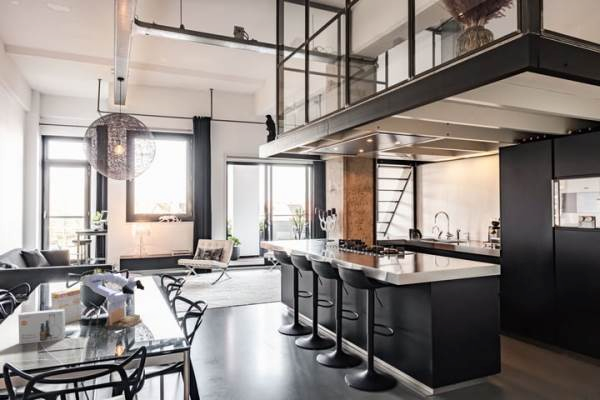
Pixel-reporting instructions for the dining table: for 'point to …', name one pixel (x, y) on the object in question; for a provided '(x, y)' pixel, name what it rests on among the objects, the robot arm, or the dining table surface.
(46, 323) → the skincare box
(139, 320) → the plywood offcut stack
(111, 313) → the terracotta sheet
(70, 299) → the coffeecake box
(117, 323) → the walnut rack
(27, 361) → the dining table surface
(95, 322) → the dining table surface
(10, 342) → the dining table surface
